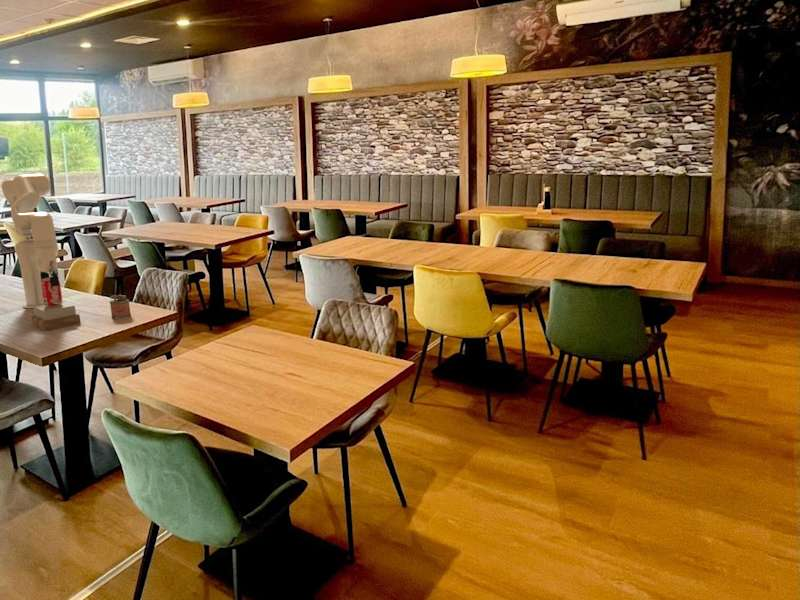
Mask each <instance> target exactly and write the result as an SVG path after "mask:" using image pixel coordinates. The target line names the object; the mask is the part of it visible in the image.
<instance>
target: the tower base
mask: <svg viewBox="0 0 800 600" xmlns="http://www.w3.org/2000/svg"><path fill="white" fill-rule="evenodd" d="M31 321H32V322H31V323H32V326H34V327H37V328H38V329H41V330H43V331H45V332H49V331H53V330H57V329H61V328H66V327H71V326H75V324H76V325H80V324H81V316H80V314H79V313H76V315H72V316H67V317H62V318H57V319H52V320H48V321H45V320H43V319H41V318H38V317H36V316H35V314H34V315H32V316H31Z"/></svg>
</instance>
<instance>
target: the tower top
mask: <svg viewBox="0 0 800 600" xmlns="http://www.w3.org/2000/svg"><path fill="white" fill-rule="evenodd" d="M32 309H33V312H34V315H35V316H36V317H38V318H41V319H43V320H45V321H48V320H52V319H57V318H62V317H67V316H72V315H76V305H74V304H71V303H69V302H66V301H63V300H62V304H61V305H60V306H58V307H53V308H49V307H47V306H45V305H41V306H36V307H33V308H32Z"/></svg>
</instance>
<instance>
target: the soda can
mask: <svg viewBox="0 0 800 600" xmlns="http://www.w3.org/2000/svg"><path fill="white" fill-rule="evenodd" d="M41 288H42V295H43V300H44V305H45V306H47V307H49V308H53V307H58V306H60V305H61V304H62V301H63V295H62V294H63V293H62V288H61V284H60V281H59V286H54V287H52V286H51V283H50V276H49V277H48V278H43V279H42V282H41Z"/></svg>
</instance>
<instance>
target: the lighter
mask: <svg viewBox="0 0 800 600" xmlns="http://www.w3.org/2000/svg"><path fill="white" fill-rule="evenodd" d="M111 299H112V300H111ZM109 304H110V312H111V318H112V319H126V318H130V317H132V314H131V308H130V299H127V296H126V295H122V294H118V295H117V294H116V295H111V296H110V301H109Z"/></svg>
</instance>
